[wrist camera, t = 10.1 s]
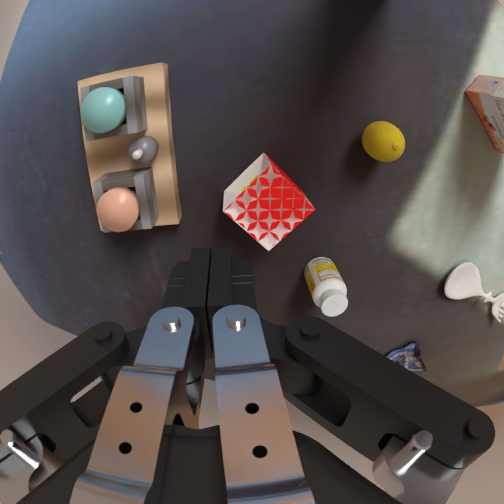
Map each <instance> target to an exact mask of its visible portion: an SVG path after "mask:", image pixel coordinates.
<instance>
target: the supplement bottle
mask: <svg viewBox="0 0 504 504" xmlns="http://www.w3.org/2000/svg"><path fill="white" fill-rule="evenodd" d="M304 275H305V279H306V282H307V284H308V287H309V290H310V293H311V296H312V299H313V301H314V303H315V304H316V305H317V306H318V307H320V308H321V310H322V312H323V313H324V314H325V315H327V316H331V317H332V316H337V315H340V314H341V313H343V312H344V311H345V310H346V308H347V306H348V300H347V298H346V294H347V289H346V285H345V283H344V282H343V280H342V278H341V276H340V274H339V272H338V270H337V268H336V266H335V265H334V263H333V262H332V261H331V260H330V259H328V258H326V257H318V258H315V259H313V260H311V261H310V262H309V263H308V264H307V266H306V267H305V271H304Z"/></svg>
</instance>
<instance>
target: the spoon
mask: <svg viewBox="0 0 504 504" xmlns="http://www.w3.org/2000/svg"><path fill="white" fill-rule="evenodd" d="M444 291H445V295H446V296H447V297H448V298H451V299H456V300H459V299H464V298H468V297H473V296H482V297H484V299H483V302H484V303H486V302H487V301H489V302H492V314H493V316H494V317H495V318H496V320H497V321H499V322H501V321H500V319H499V318H498V316H500V317H502V315H501V314H500V313H499V311H500V312H502V313H504V311H503V310H502V309H501V308H500V307H503V308H504V293H502V294H500V295H498V296H497V297H495V298H493V297H492V296H491V294H492V293H491V292H488V293H487V294H485V293H484V292H483V291H482V288H481V281H480V274H479V270H478V268H477V267H476V266H475V265H474V264H473V263H471V262H466V263H463V264H460V265H459V266H457V267H456V268H455V269H454V270H453V271H452V272H451V273H450V274H449V276H448V278H447V280H446V283H445V287H444ZM502 318H503V317H502Z"/></svg>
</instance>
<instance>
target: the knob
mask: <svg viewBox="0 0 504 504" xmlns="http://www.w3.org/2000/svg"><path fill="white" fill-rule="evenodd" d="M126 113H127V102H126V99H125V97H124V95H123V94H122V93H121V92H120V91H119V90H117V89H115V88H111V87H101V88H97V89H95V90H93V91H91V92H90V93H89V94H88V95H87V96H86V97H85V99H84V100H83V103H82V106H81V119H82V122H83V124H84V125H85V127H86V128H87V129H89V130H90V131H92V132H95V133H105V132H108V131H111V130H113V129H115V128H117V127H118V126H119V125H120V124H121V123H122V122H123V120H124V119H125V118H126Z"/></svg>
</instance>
